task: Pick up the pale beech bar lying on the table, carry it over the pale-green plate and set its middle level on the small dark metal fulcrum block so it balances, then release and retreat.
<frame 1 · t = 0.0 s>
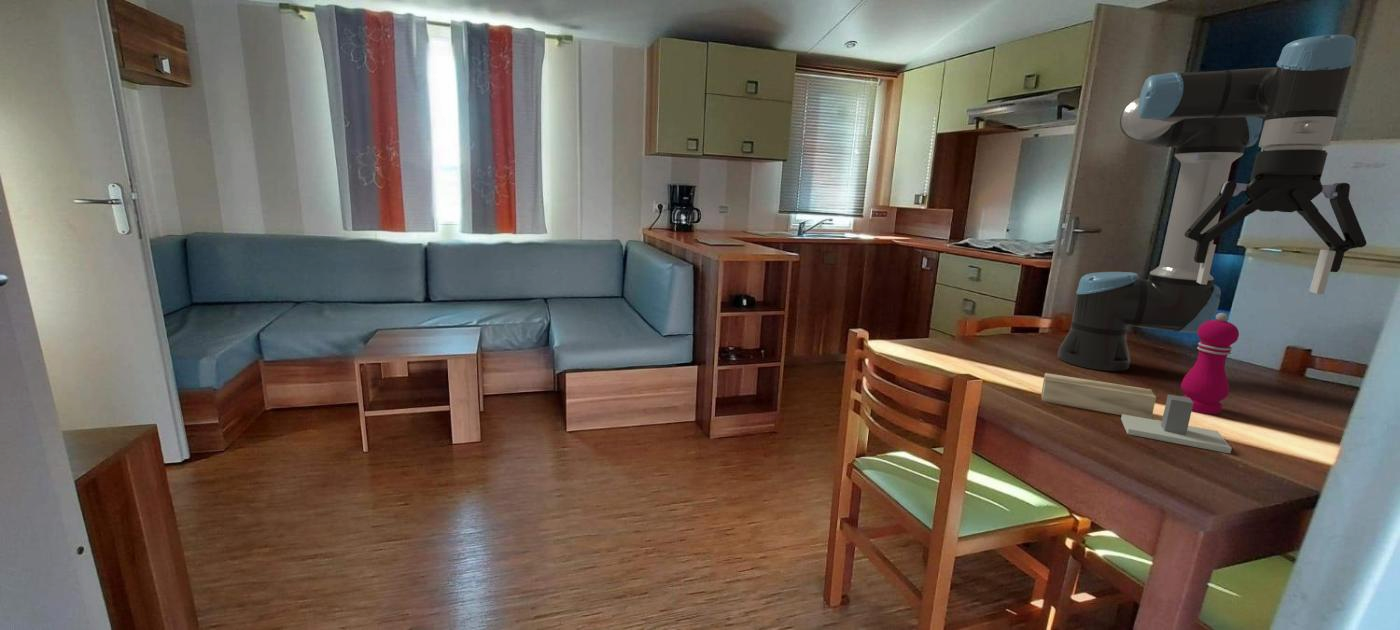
hand: (1256, 288, 89), 28 cm above the table, fingers open, 13 cm apart
beech bar: (1092, 407, 113), on the table
pepper mill: (1199, 409, 114), on the table
fulcrum: (1171, 435, 100), on the table
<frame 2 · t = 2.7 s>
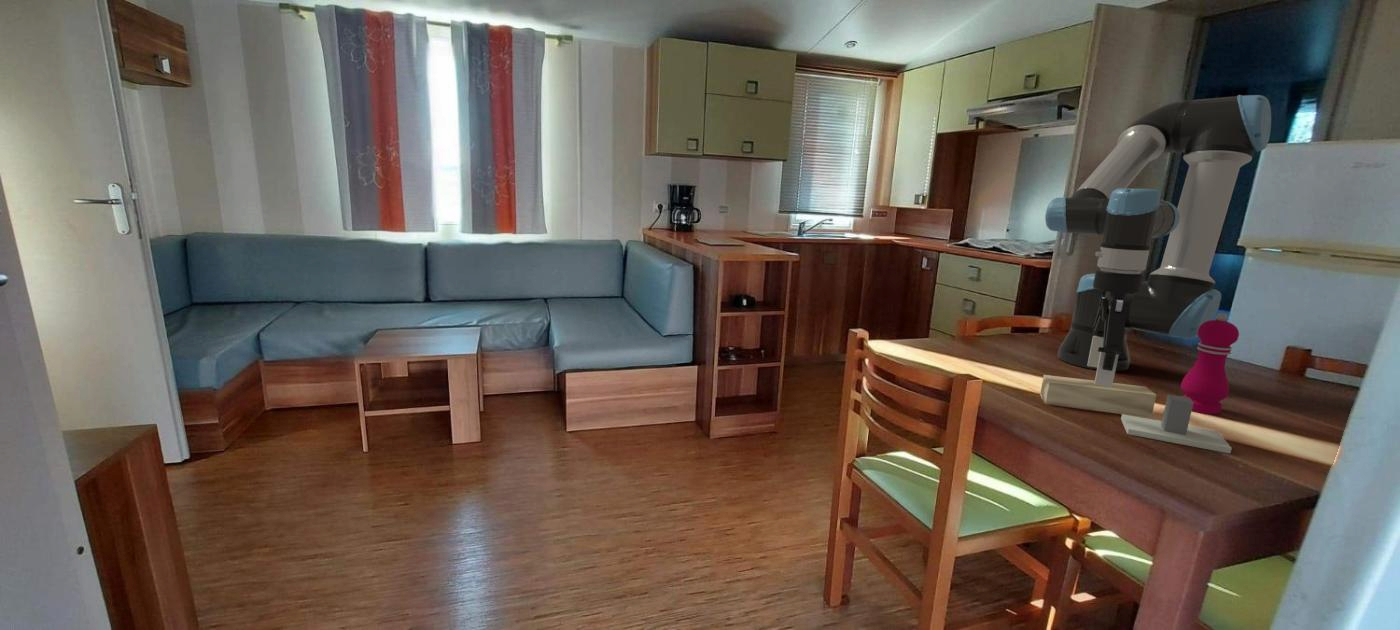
hand: (1098, 375, 112), 7 cm above the table, fingers open, 13 cm apart
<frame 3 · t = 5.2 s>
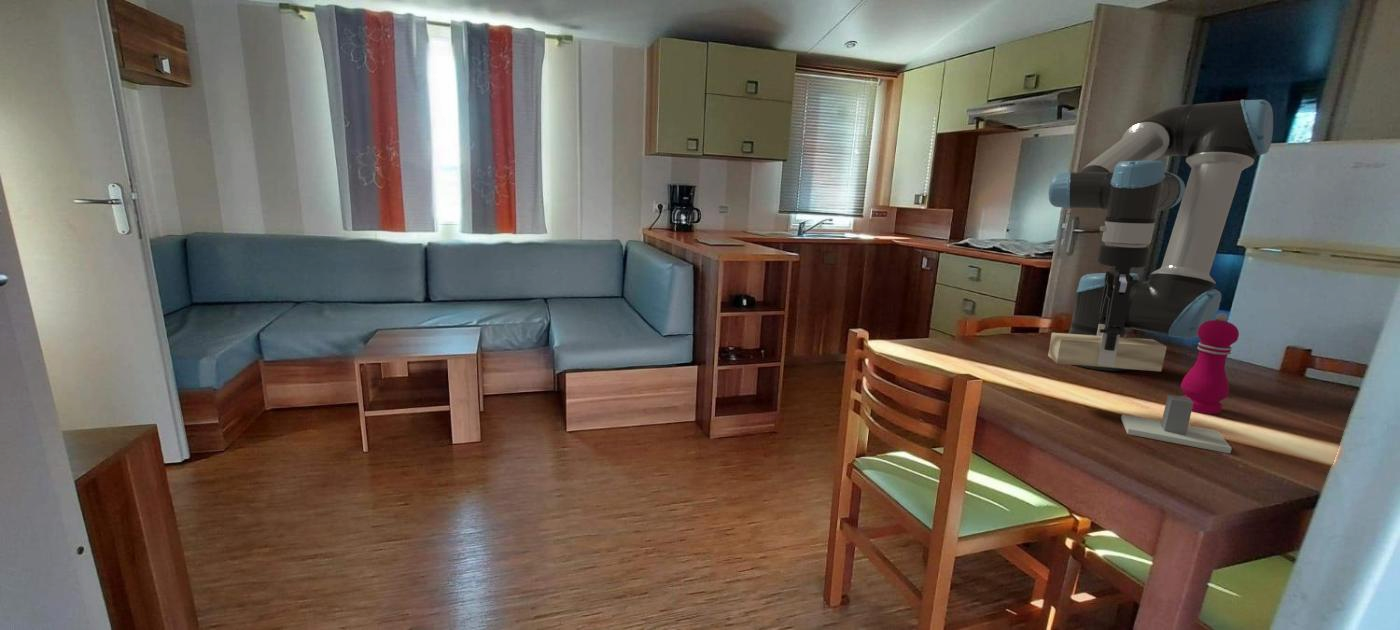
hand: (1103, 360, 111), 10 cm above the table, fingers closed on beech bar, 6 cm apart
beech bar: (1102, 363, 112), point 9 cm above the table, touching gripper
everything else where it was.
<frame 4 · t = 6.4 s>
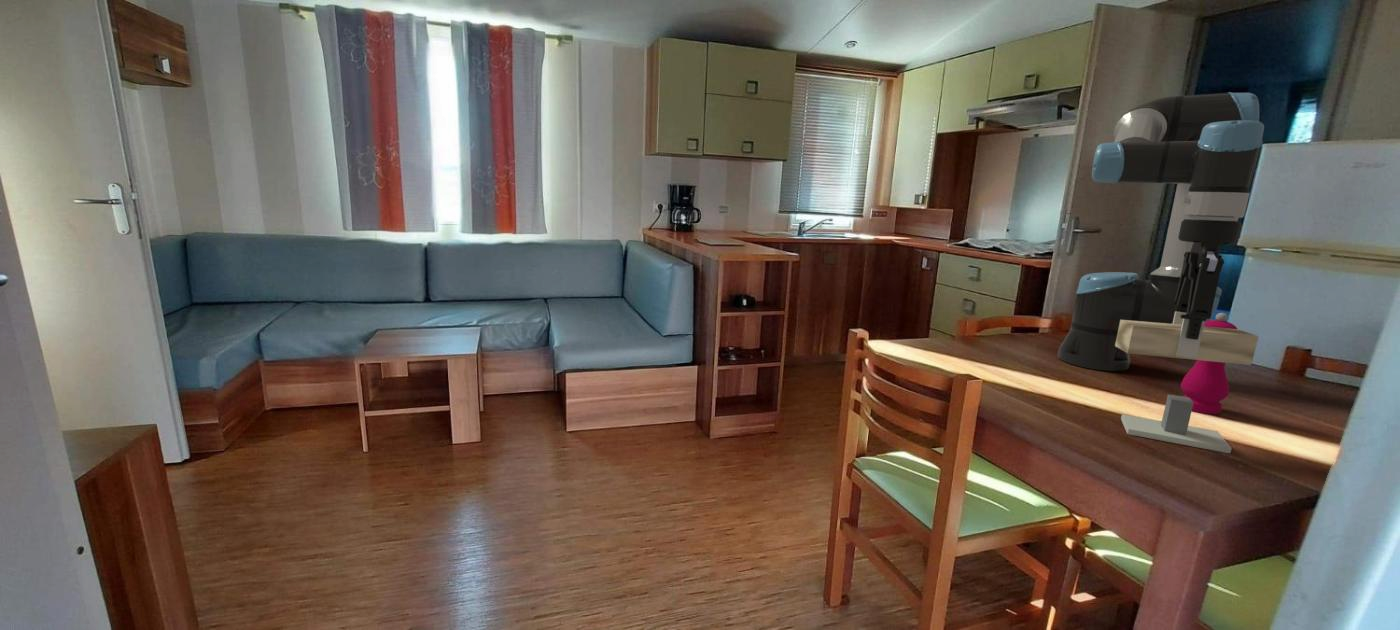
hand: (1181, 351, 98), 15 cm above the table, fingers closed on beech bar, 6 cm apart
beech bar: (1179, 355, 98), point 15 cm above the table, touching gripper
everything else where it was.
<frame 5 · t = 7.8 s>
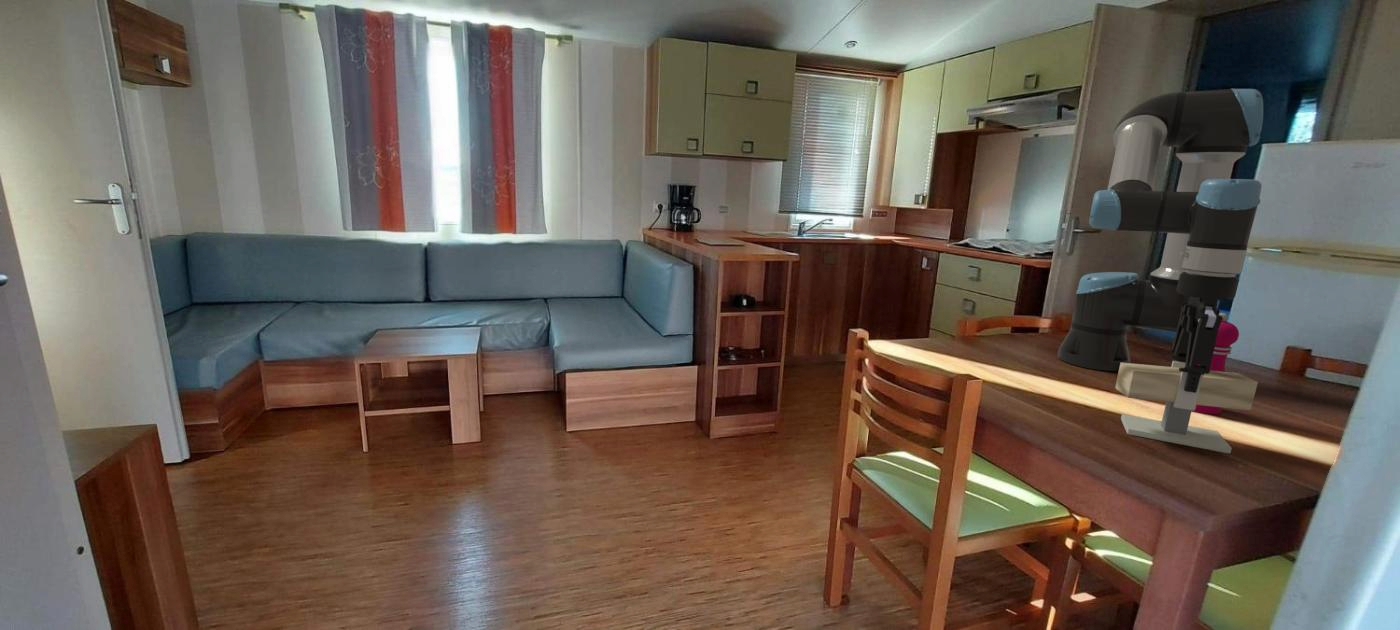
hand: (1179, 401, 99), 6 cm above the table, fingers closed on beech bar, 6 cm apart
beech bar: (1179, 398, 99), point 7 cm above the table, touching fulcrum, gripper
everything else where it was.
when the fingers open (6 cm above the table, at t = 8.1 s): beech bar stays where it is, resting on fulcrum.
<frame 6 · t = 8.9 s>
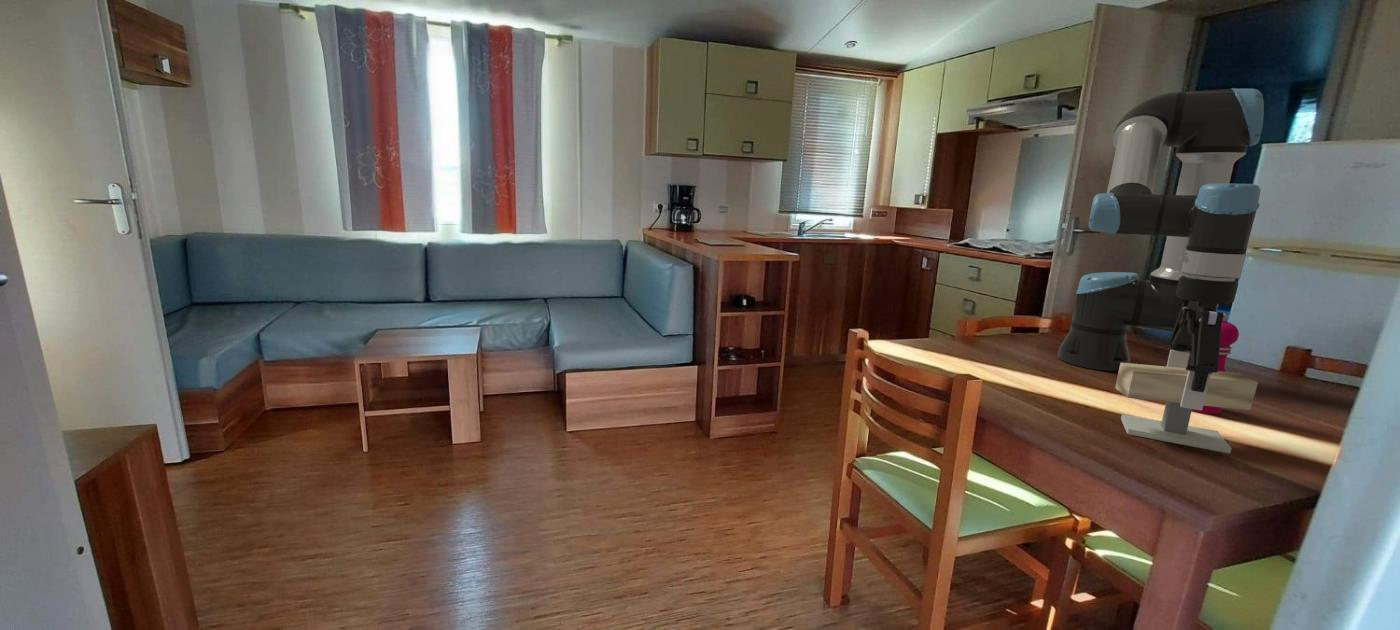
hand: (1181, 395, 99), 8 cm above the table, fingers open, 13 cm apart
beech bar: (1179, 398, 99), point 7 cm above the table, touching fulcrum
everything else where it was.
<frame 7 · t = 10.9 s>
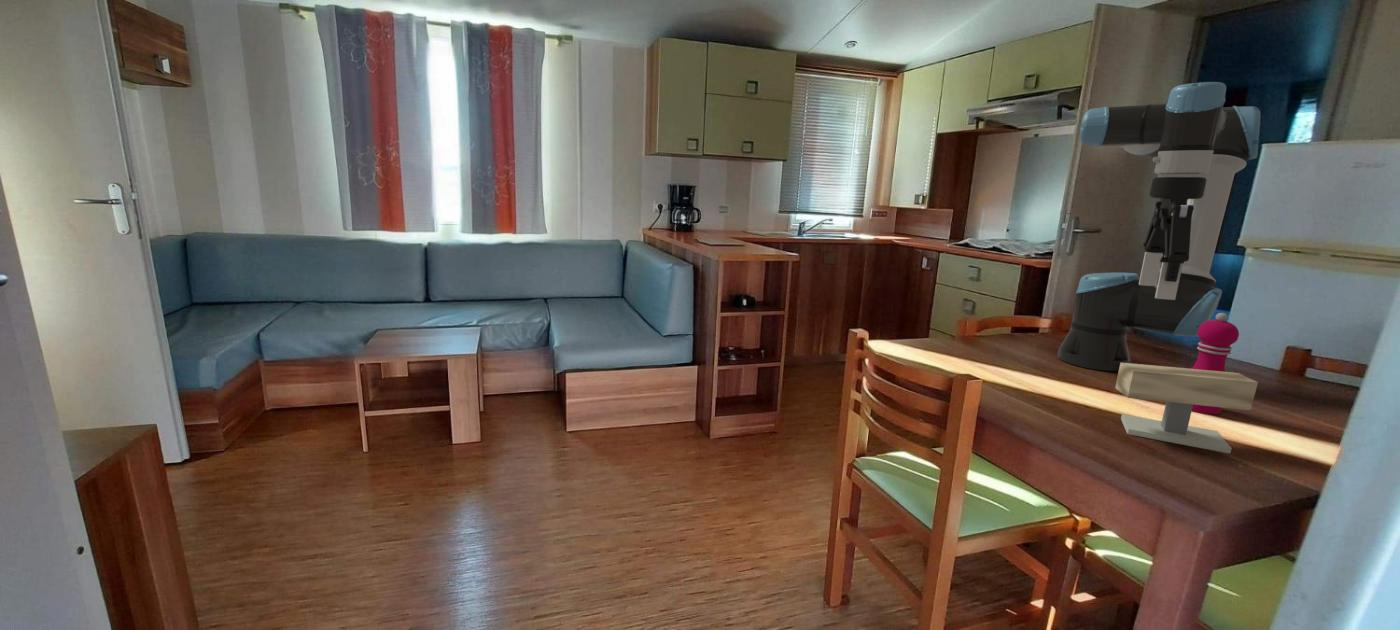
hand: (1155, 291, 105), 24 cm above the table, fingers open, 13 cm apart
nothing on the table moved.
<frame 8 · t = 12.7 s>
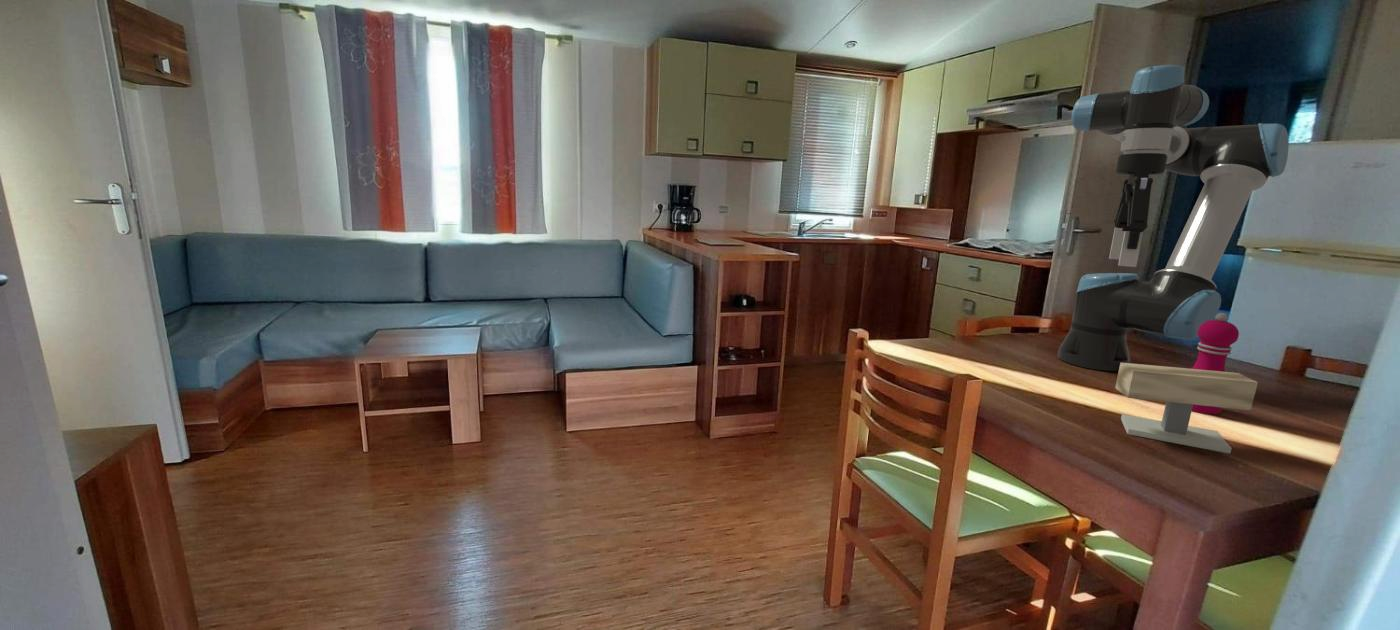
hand: (1121, 262, 112), 29 cm above the table, fingers open, 13 cm apart
nothing on the table moved.
at the end: beech bar 0.1 cm off-centre on the fulcrum, point 7.0 cm above the fulcrum's base; beech bar tilted 0°; beech bar touching fulcrum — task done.
